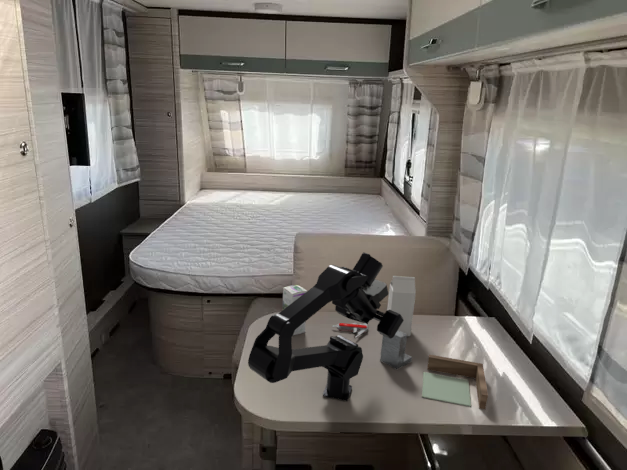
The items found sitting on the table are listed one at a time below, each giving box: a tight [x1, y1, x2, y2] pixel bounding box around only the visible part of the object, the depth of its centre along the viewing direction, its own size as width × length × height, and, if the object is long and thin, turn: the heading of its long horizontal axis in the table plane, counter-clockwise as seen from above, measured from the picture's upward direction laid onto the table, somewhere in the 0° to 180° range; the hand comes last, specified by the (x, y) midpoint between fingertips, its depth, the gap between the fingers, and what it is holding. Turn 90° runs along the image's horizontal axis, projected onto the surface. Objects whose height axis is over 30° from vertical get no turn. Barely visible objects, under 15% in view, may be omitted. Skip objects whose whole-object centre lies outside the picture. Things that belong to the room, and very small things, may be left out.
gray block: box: [379, 330, 413, 370], centre depth 138 cm, size 7×6×10 cm
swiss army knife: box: [331, 322, 368, 339], centre depth 156 cm, size 12×14×2 cm
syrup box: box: [282, 284, 308, 336], centre depth 152 cm, size 6×6×14 cm
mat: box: [421, 371, 472, 407], centre depth 127 cm, size 12×12×1 cm
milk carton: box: [386, 275, 417, 337], centre depth 155 cm, size 7×7×19 cm
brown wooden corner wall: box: [426, 354, 489, 410], centre depth 128 cm, size 16×14×4 cm
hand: (379, 328), depth 130 cm, fingers open, 9 cm apart
